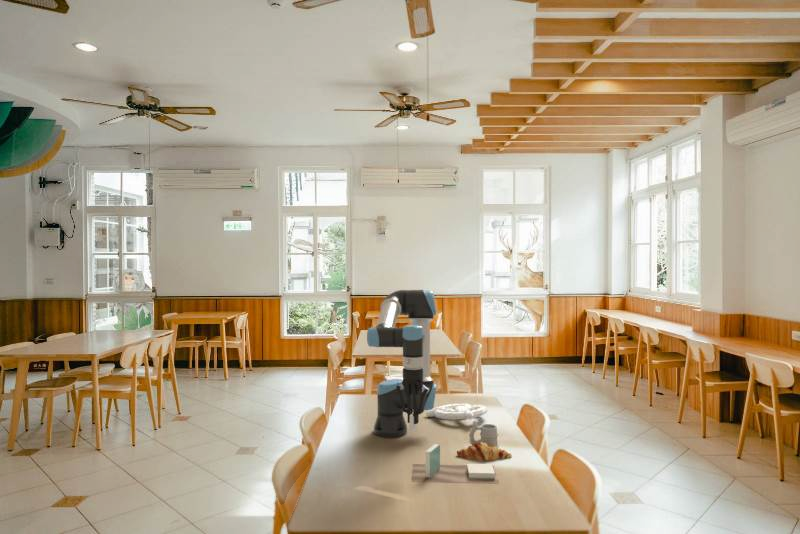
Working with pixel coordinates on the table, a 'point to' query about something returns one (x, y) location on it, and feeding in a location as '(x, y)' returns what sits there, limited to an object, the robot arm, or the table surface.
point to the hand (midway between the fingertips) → (413, 432)
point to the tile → (432, 460)
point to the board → (448, 475)
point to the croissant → (483, 452)
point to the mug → (485, 434)
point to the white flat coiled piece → (457, 411)
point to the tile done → (480, 471)
